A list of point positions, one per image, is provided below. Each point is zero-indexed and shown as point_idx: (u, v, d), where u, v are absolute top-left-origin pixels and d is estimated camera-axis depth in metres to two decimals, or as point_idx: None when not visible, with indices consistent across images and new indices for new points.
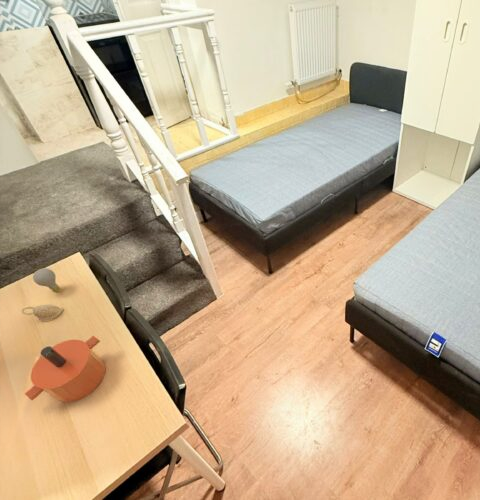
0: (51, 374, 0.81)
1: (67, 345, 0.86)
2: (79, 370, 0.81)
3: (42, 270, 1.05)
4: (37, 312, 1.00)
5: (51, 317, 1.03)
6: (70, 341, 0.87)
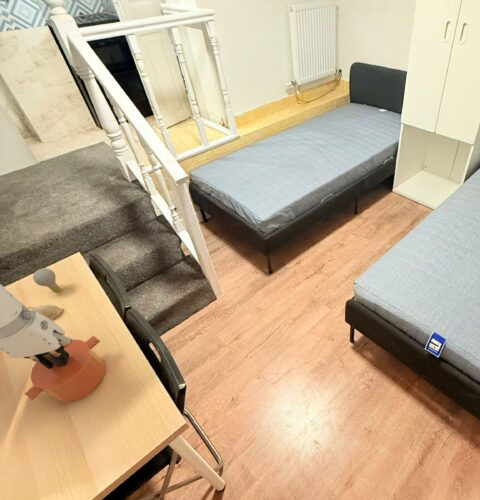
0: (51, 374, 0.81)
1: None
2: (79, 370, 0.81)
3: (42, 270, 1.05)
4: None
5: (51, 317, 1.03)
6: None
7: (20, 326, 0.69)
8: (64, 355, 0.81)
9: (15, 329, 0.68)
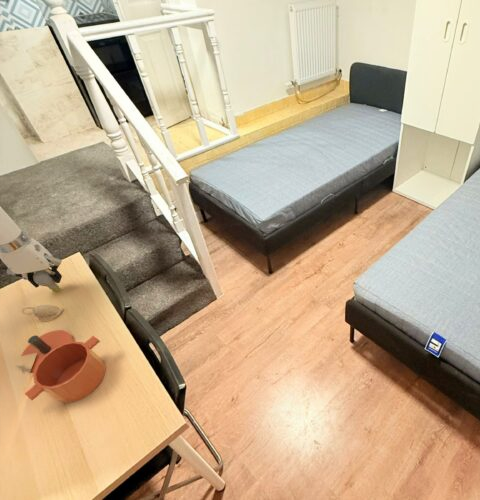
0: (38, 360, 0.92)
1: (52, 335, 0.98)
2: None
3: (42, 270, 1.05)
4: (37, 312, 1.00)
5: (51, 317, 1.03)
6: (55, 331, 0.99)
7: (19, 245, 0.94)
8: (58, 275, 1.06)
9: (16, 246, 0.94)
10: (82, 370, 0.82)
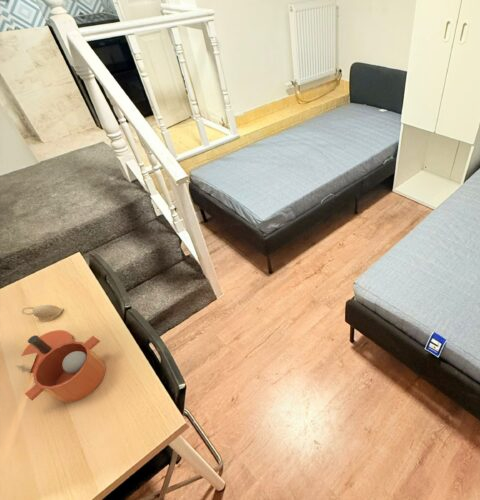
0: (38, 360, 0.92)
1: (52, 335, 0.98)
2: None
3: (79, 355, 0.83)
4: (37, 312, 1.00)
5: (51, 317, 1.03)
6: (55, 331, 0.99)
7: None
8: None
9: None
10: (82, 370, 0.82)
